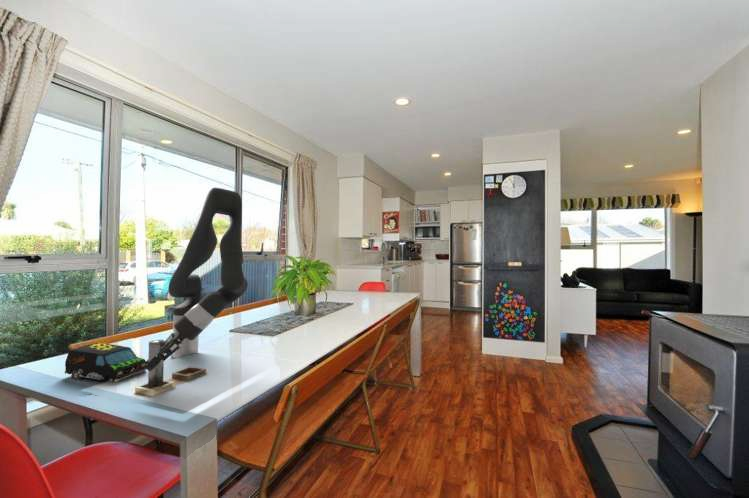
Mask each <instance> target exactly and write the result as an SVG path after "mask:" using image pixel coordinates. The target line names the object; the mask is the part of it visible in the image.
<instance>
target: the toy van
mask: <svg viewBox="0 0 749 498" xmlns="http://www.w3.org/2000/svg"><path fill="white" fill-rule="evenodd" d="M146 361H147V360H146V359H145V358H141V357H140V356H139V357H138V356H137V355H136V353H135V352H134V350H133V349H132V348H131V347H128V346H123V345H117V344H109V343H103V342H102V343H99V342H95V343H91V344H85V345H82V346H78V347H74V348H72V349H70V350H69V351H68V353H67V356H66V358H65V364H64V366H65V369H64V374H65V375H66V374H67V375H71V379H72V380H76V381H80V380H83V378H85V379H87V378H88V379H93V380H99V381H105V382H109V381H110V382H112V383H119V382H122V381H124V380H127V379H129V378H132V377H134V376H138V375H141V374H143V373H145V372H146V371H147V369H146V368H145V365H146Z"/></svg>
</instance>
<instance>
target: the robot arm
mask: <svg viewBox="0 0 749 498" xmlns="http://www.w3.org/2000/svg"><path fill="white" fill-rule="evenodd" d="M242 213H243V203H242V197H241V195H240V194H239V192H237V191H233V190H230V189H226V188H222V187H216V186H214V187H211V189H209V191H208V193H207V195H206V197H205V200H204V203H203V206H202V210H201V212H200V216H199V218H198V221H197V224H196V226H195V228H194V230H193V233H192V235H191V236H190V239H189V241H188V244H187V246H186V249H185V252H184V253H183V255H182V258H181V260H180V262H179V264H178V266H177V267H176V269H175V271H174V272H173V274H172V276H171V278H170V280H169V283H168V293H169V295H170V297H172V298H176V299H177V298H179V299H180V298H186V299H185V300H184V301H183V302H182V303H180V304H178V305H176V306H174V308H173V310H172V311H173V312H172V317H173V318H172V332H171V333H170V334H169V336H168V337H167V338H166V339H165V340H164V345H163V346H162V347H161V350H160V351H159V352H158V353H157V354H156V356H155V357H154V358H153V359H151V360H150V361H149V362H148V360H149V358H147V360H145V361H146V365H145V368H146V371H147V370H149V371H151V370H153V369H154V368H155V367H156V366H157V365H158V364H159V363H160V362H161V361H164V362H165V361H166V360H168V358H170V357H172V358H173V359H177V358H180V357H183V356H188V355H189V356H190V355H194V354H196V353H197V354H199V340H200V338H199V337H200V336H199V335H200V334H201V333H202V332H203V331H204V330H205V329H207V327H208V326H209V325H210V324H211V323H212V322H213V321H214V320H215V318H217V316H218V315H219V314H220V313H222V312H223V311H224V309H225V308H227V306H229V305H231V304H232V303H234V302H235V301H237V300H238V299H240V297H242V296H243V295H244V294H245V292H247V289H248V287H249V282H248V280H247V278H246V277H245V276H244V271H243V264H244V257H243V256H244V255H243V246H242V219H243V218H242V215H243V214H242ZM216 214H218V215H223V216H224V215H225V216H228V217H229V225H228V227H227V229H226V231H225V232H224V234H223V235H222V238H221V239H220V243H219V254H220V261H221V267H220V281H221V282H220V283H221V287H220V288H219V289H217V290H216V291H211V292H209V293H207V294H206V295H205V296H204V297H203V298H202V278H201V277H200V275H198V274H196V273H195V274H193V272H195V271H196V270H197V269H198V268H200V267H201V266H203V265H205V264H206V263H207V262H208V261H209V260H210V259H211V258H212V256H213V254H214V251H215V250H216V248H217V244H218V238H217V235H216V234H217V233H216V232H215V229H214V224H213V220H214V216H215V215H216ZM163 353H164V355H163Z"/></svg>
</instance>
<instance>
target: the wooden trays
mask: <svg viewBox="0 0 749 498" xmlns="http://www.w3.org/2000/svg"><path fill="white" fill-rule="evenodd" d="M206 374H207V369H206V368H202V367H195V366H188V367H185V368H183V369H180V370H178V371H174V372H172V373H171V378H168V379H163V385H161V386H158V387H152V388H151V387H148V382H146V383H144V384H140V385H137V386H135V387H134V392H133V394H134V395H138V396H144V397H147V398H152V397H156V396H157V395H159V394H162V393H164V392H166V391H168V390H171V389H173V388H175V387H178V386H180V385H183V384H184V383H188V382H190V381H193V380H194V379H196V378H199V377H201V376H203V375H206Z"/></svg>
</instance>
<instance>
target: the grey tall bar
mask: <svg viewBox="0 0 749 498" xmlns="http://www.w3.org/2000/svg"><path fill="white" fill-rule="evenodd" d="M164 341H165V340H164V339H154V340H150V341H148V359H149V360H148V359H147V360H148V362H149V361H150V360H151V359H153V358H154V357H155V356H156V354H157V353H158V352H159V351H160V350H161V347H162V346H163V345H164ZM163 355H164V353H163ZM164 356H165V355H164ZM164 363H165V361H161V362H160V363H159V364H158V365H157V366H156V367H155V368H154V369H153V370H151V371H149V370H148V373H147V376H148V377H147V383H148V387H151V388H152V387H158V386H161V385H163V380H164V371H165V370H164V368H165V367H164Z"/></svg>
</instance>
